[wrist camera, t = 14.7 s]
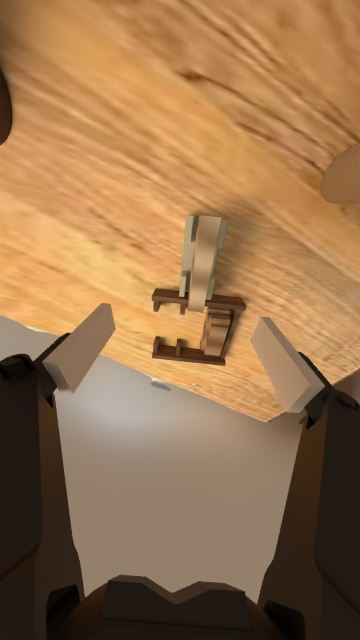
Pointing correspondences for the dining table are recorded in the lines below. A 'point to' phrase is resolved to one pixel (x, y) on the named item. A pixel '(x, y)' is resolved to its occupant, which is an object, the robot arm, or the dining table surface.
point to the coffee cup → (343, 178)
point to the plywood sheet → (202, 260)
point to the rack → (214, 330)
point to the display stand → (189, 249)
